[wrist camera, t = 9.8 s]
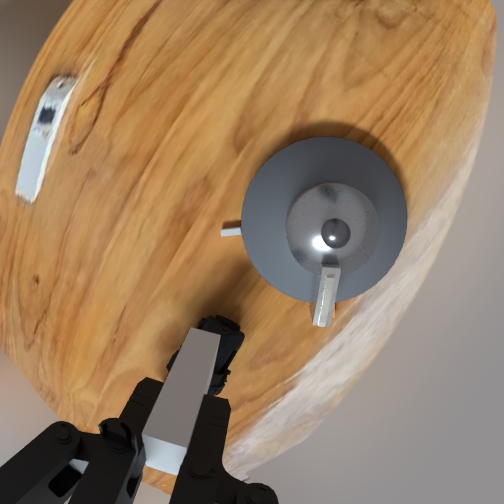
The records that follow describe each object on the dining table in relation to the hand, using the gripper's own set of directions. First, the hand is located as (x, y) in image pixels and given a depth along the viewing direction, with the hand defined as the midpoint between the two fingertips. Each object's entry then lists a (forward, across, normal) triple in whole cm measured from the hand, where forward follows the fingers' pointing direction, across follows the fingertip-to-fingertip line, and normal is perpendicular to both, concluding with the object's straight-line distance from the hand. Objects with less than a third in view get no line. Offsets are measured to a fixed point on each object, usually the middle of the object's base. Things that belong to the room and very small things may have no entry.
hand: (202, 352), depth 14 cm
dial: (+20, +9, +1) cm, 22 cm away
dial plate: (+22, +8, +3) cm, 24 cm away
